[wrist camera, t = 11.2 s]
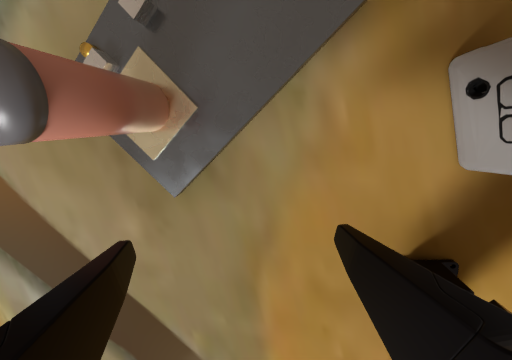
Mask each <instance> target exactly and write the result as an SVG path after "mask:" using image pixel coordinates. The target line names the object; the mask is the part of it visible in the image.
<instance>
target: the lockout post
mask: <svg viewBox="0 0 512 360" xmlns="http://www.w3.org/2000/svg"><path fill="white" fill-rule="evenodd" d="M168 116H169V105H168V101H167V98H166V96H165V94H164V93H163V92H162V90H161V89H160V88H159V87H157V86H156V85H155V84H153V83H150V82H147V81H143V80H140V79H136V78H133V77H129V76H126V75H122V74H119V73H115V72H112V71H108V70H105V69H101V68H98V67H94V66H91V65H87V64H84V63H80V62H77V61H73V60H70V59H66V58H62V57H59V56H55V55H52V54H48V53H45V52H41V51H38V50H34V49H31V48H27V47H24V46H20V45H17V44H13V43H10V42H7V41H5V40H2V39H0V146H3V145H15V144H25V143H29V142H37V141H49V140H60V139H72V138H84V137H96V136H107V135H119V134H131V133H143V132H154V131H157V130H159V129H161V128H162V127H163V126H164V125H165V123H166V122H167V119H168Z"/></svg>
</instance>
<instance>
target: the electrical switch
mask: <svg viewBox="0 0 512 360" xmlns="http://www.w3.org/2000/svg"><path fill="white" fill-rule="evenodd" d="M448 71H449V80H450V89H451V98H452V107H453V115H454V124H455V133H456V142H457V151H458V160H459V164H460V165H461V166H462V167H463V168H465V169H466V170H473V171H482V172H491V173H499V174H508V175H512V37H511V38H508V39H505V40H503V41H500V42H497V43H494V44H492V45H489V46H486V47H481V48H478V49H476V50H473V51H470V52H468V53H465V54H463V55H460V56H458V57H456V58H455V59H454V60H453V61H452V62H451V63H450V65H449V69H448Z"/></svg>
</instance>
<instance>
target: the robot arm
mask: <svg viewBox="0 0 512 360" xmlns="http://www.w3.org/2000/svg"><path fill="white" fill-rule="evenodd" d="M334 242H335V245H336V248H337V250H338V253H339V255H340V257H341V260H342V262H343V265H344V267H345V270H346V272H347V274H348V276H349V278H350V280H351V282H352V284H353V286H354V288H355V290H356V292H357V294H358V296H359V297H360V299H361V301H362V303H363V305H364V307H365V309H366V311H367V313H368V315H369V317H370V318H371V320H372V322H373V324H374V326H375V328H376V330H377V332H378V334H379V336H380V338H381V339H382V341H383V343H384V345H385V347H386V349H387V351H388V353H389V355H390V357H391V359H392V360H512V313H511V312H510V311H508V310H507V309H506V308H504V307H503V306H502V305H500V304H499V303H498V302H497V301H495V300H492V301H490V302H487V301H485V300H483V299H481V298H479V297H477V296H475V295H474V292H473V291H472V290H471V289H470V288H469V287H468V286H467V285H466V284H464V283H463V282H462V281H461V280H460V279H459V278H458V277H457V274H458V268H459V265H458V263H456V262H455V261H454V260H410V259H408V258H406V257H405V256H403V255H401V254H399V253H397V252H396V251H394V250H392V249H390V248H389V247H387V246H385V245H383V244H381V243H380V242H378V241H376V240H374V239H373V238H371V237H369V236H367V235H366V234H364V233H362V232H360V231H358V230H357V229H355V228H353V227H351V226H350V225H348V224H341V225H338V226H337V229H336V233H335V237H334ZM135 261H136V253H135V250H134V248H133V245H132V242H131V241H129V240H125V241H119V242H117V243H115V244H114V245H113V246H111V247H110V248H109V249H107V250H106V251H104V252H103V253H102V254H100V255H99V256H98V257H96V258H95V259H93V260H92V261H91V262H89V263H88V264H86V265H85V266H84V267H82V268H81V269H80V270H78V271H77V272H75V273H74V274H73V275H71V276H70V277H69V278H67V279H66V280H64V281H63V282H62V283H60V284H59V285H57V286H56V287H55V288H53V289H52V290H51V291H49V292H48V293H46V294H45V295H44V296H42V297H41V298H39V299H38V300H37V301H35V302H34V303H33V304H31V305H30V306H28V307H27V308H26V309H24V310H23V311H22V312H20V313H19V314H17V315H16V316H15V317H13V318H12V319H11V321H8V322H6V323H5V324H3V325H2V326H1V327H0V360H101V357H102V355H103V352H104V350H105V347H106V345H107V342H108V340H109V337H110V335H111V332H112V330H113V327H114V325H115V322H116V320H117V317H118V315H119V312H120V309H121V307H122V305H123V302H124V299H125V296H126V293H127V290H128V286H129V283H130V279H131V276H132V272H133V268H134V265H135Z"/></svg>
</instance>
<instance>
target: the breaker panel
mask: <svg viewBox="0 0 512 360" xmlns="http://www.w3.org/2000/svg"><path fill="white" fill-rule="evenodd" d="M366 1H367V0H109V1H108V3H107V5H106V7H105V8H104V10H103V12H102V14H101V16H100V17H99V19H98V21H97V23H96V24H95V26H94V28H93V30H92V32H91V33H90V35H89V37H88V39H87V41H86V42H83V43H81V45H80V53H79V55H78V57H77V58H76V60H75V61H77V62H80V63H84V64H87V65H91V66H94V67H98V68H101V69H105V70H108V71H112V72H115V73H119V74H122V75H126V76H129V77H133V78H136V79H140V80H143V81H147V82H150V83H153V84H155V85H156V86H157V87H159V88H160V89H161V90H162V92H163V93H164V94H165V96H166V98H167V101H168V105H169V116H168V119H167V122H166V123H165V125H164V126H163V127H162V128H161V129H159V130H157V131H154V132H143V133H131V134H119V135H109V136H111V137H112V138H113V139H114V140H115V141H116V142H117V143H118V144H119V145H120V146H121V147H122V148H123V149H124V150H125V151H126V152H127V153H128V154H129V155H131V156H132V157H133V158H134V159H135V160H136V161H137V162H138V163H139V164H140V165H141V166H142V167H143V168H144V169H145V170H146V171H147V172H148V173H149V174H150V175H152V176H153V177H154V178H155V179H156V180H157V181H158V182H159V183H160V184H161V185H162V186H163V187H164V188H165V189H166V190H167V191H168V192H169V193H170V194H171V195H173V196H174V197H176V196H178V195H179V194H181V193H182V192H183V191H184V190H185V189H186V188H187V187H188V186H189V185H190V184H191V183H192V182H193V180H194V179H195V178H196V177H197V176H198V175H199V174H200V173H201V172H202V171H203V170H204V169H205V168H206V167H207V166H208V165H209V164H210V163H211V162H212V161H213V160H214V159H215V158H216V157H217V156H218V155H219V154H220V152H221V151H222V150H223V149H224V148H225V147H226V146H227V145H228V144H229V143H230V142H231V141H232V140H233V139H234V138H235V137H236V136H237V135H238V134H239V133H240V132H241V131H242V130H243V129H244V128H245V127H246V126H247V124H248V123H249V122H250V121H251V120H252V119H253V118H254V117H255V116H256V115H257V114H258V113H259V112H260V111H261V110H262V109H263V108H264V107H265V106H266V105H267V104H268V103H269V102H270V101H271V100H272V99H273V98H274V97H275V95H276V94H277V93H278V92H279V91H280V90H281V89H282V88H283V87H284V86H285V85H286V84H287V83H288V82H289V81H290V80H291V79H292V78H293V77H294V76H295V75H296V74H297V73H298V72H299V71H300V70H301V69H302V67H303V66H304V65H305V64H306V63H307V62H308V61H309V60H310V59H311V58H312V57H313V56H314V55H315V54H316V53H317V52H318V51H319V50H320V49H321V48H322V47H323V46H324V45H325V44H326V43H327V42H328V41H329V39H330V38H331V37H332V36H333V35H334V34H335V33H336V32H337V31H338V30H339V29H340V28H341V27H342V26H343V25H344V24H345V23H346V22H347V21H348V20H349V19H350V18H351V17H352V16H353V15H354V14H355V13H356V11H357V10H358V9H359V8H360V7H361V6H362V5H363V4H364V3H365V2H366Z"/></svg>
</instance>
